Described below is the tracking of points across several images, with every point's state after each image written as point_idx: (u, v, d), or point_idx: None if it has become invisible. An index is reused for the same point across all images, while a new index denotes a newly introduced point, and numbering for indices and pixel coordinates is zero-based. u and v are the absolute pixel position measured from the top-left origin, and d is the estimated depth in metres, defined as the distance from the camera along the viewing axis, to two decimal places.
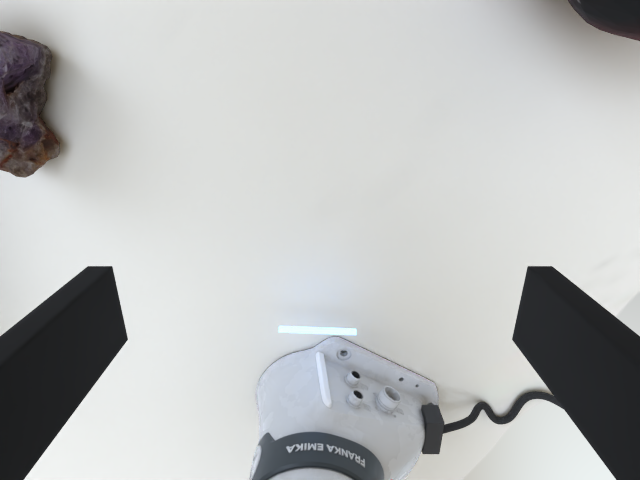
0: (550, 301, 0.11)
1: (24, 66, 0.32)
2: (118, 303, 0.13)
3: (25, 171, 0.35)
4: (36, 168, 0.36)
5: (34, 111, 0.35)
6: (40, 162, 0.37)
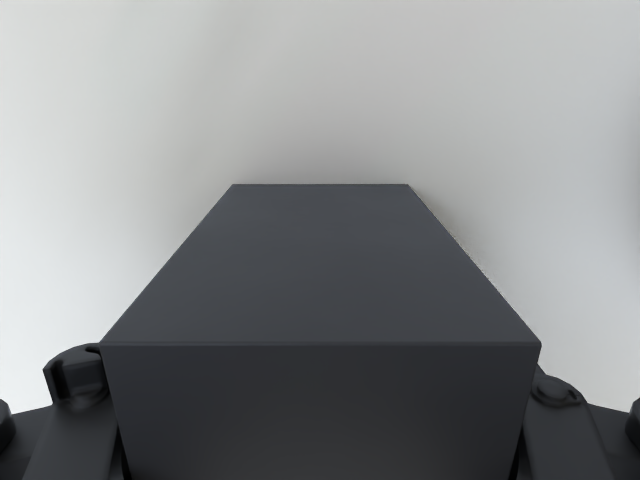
0: None
1: None
2: None
3: None
4: None
5: None
6: None
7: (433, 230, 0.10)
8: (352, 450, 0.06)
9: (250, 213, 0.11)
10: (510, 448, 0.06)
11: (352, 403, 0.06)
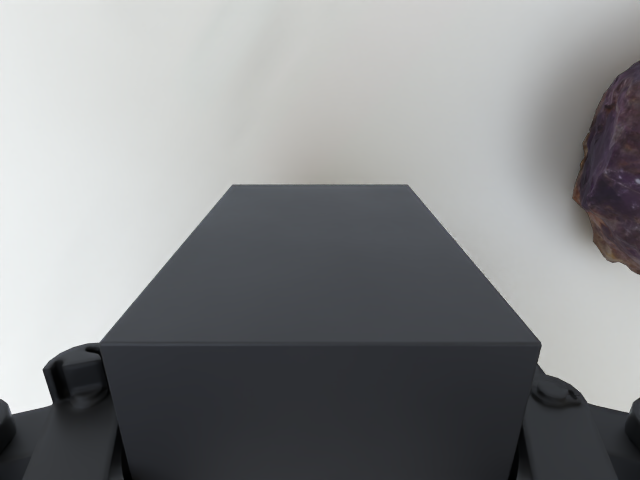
0: None
1: None
2: None
3: None
4: None
5: None
6: None
7: (433, 230, 0.10)
8: (352, 450, 0.06)
9: (250, 214, 0.11)
10: (510, 448, 0.06)
11: (352, 403, 0.06)
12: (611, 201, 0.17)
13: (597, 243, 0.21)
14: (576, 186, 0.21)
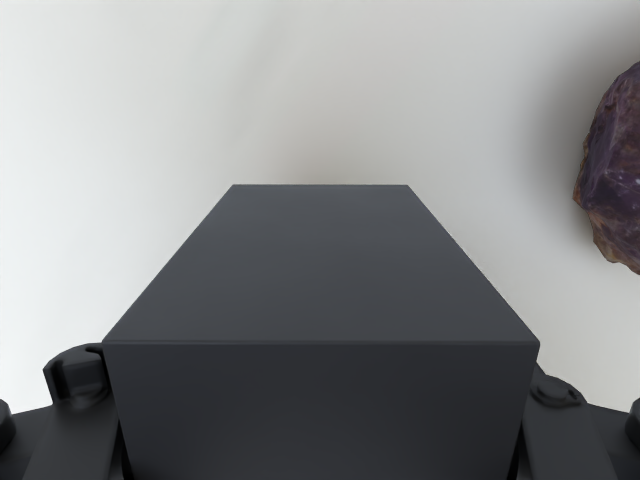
0: None
1: None
2: None
3: None
4: None
5: None
6: None
7: (433, 230, 0.10)
8: (352, 449, 0.06)
9: (251, 213, 0.11)
10: (509, 447, 0.06)
11: (352, 402, 0.06)
12: (611, 201, 0.17)
13: (597, 244, 0.21)
14: (576, 186, 0.21)
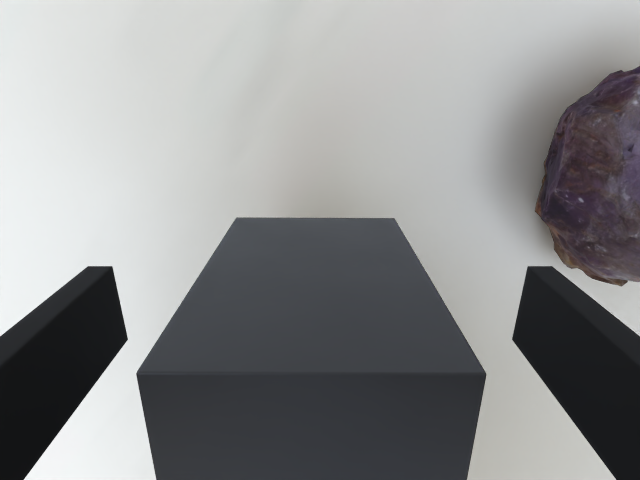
0: (550, 301, 0.11)
1: None
2: (118, 303, 0.13)
3: None
4: None
5: None
6: None
7: (412, 267, 0.11)
8: (337, 459, 0.08)
9: (253, 249, 0.12)
10: (465, 457, 0.08)
11: (337, 421, 0.07)
12: (562, 216, 0.20)
13: (557, 251, 0.24)
14: (538, 201, 0.24)
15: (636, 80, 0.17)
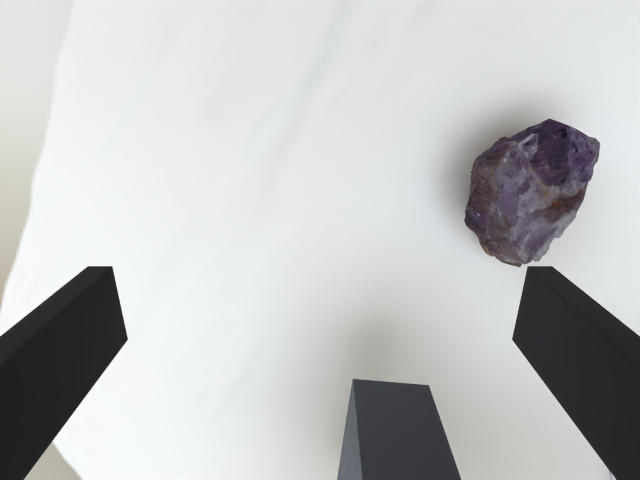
0: (550, 301, 0.11)
1: None
2: (118, 303, 0.13)
3: None
4: None
5: None
6: None
7: (440, 431, 0.27)
8: None
9: (372, 412, 0.28)
10: None
11: None
12: (473, 223, 0.32)
13: (481, 245, 0.37)
14: None
15: (508, 146, 0.30)
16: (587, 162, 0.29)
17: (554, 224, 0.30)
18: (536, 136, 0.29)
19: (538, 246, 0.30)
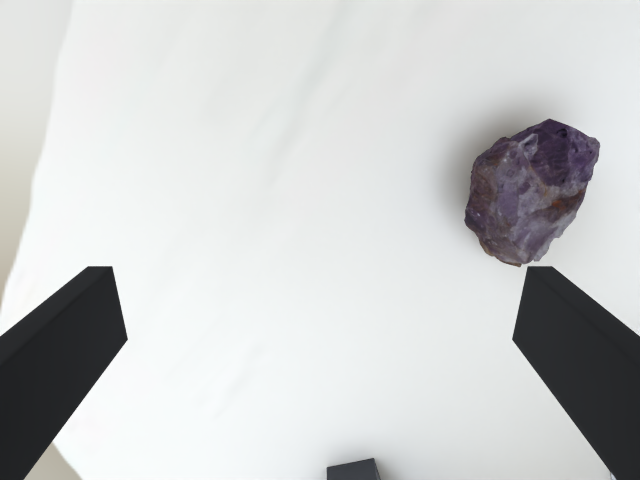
0: (550, 301, 0.11)
1: None
2: (118, 303, 0.13)
3: None
4: None
5: None
6: None
7: None
8: None
9: None
10: None
11: None
12: (473, 223, 0.32)
13: (481, 245, 0.37)
14: None
15: (508, 146, 0.30)
16: (587, 162, 0.29)
17: (554, 224, 0.30)
18: (536, 136, 0.29)
19: (538, 246, 0.30)
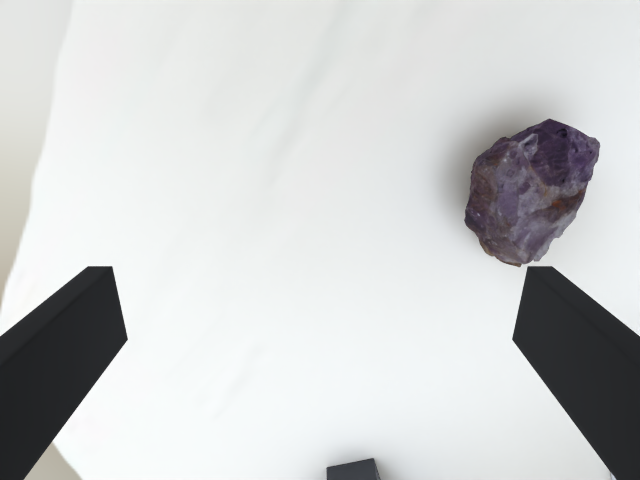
0: (550, 301, 0.11)
1: None
2: (118, 303, 0.13)
3: None
4: None
5: None
6: None
7: None
8: None
9: None
10: None
11: None
12: (473, 223, 0.32)
13: (481, 245, 0.37)
14: None
15: (508, 146, 0.30)
16: (587, 162, 0.29)
17: (554, 224, 0.30)
18: (536, 136, 0.29)
19: (538, 246, 0.30)
